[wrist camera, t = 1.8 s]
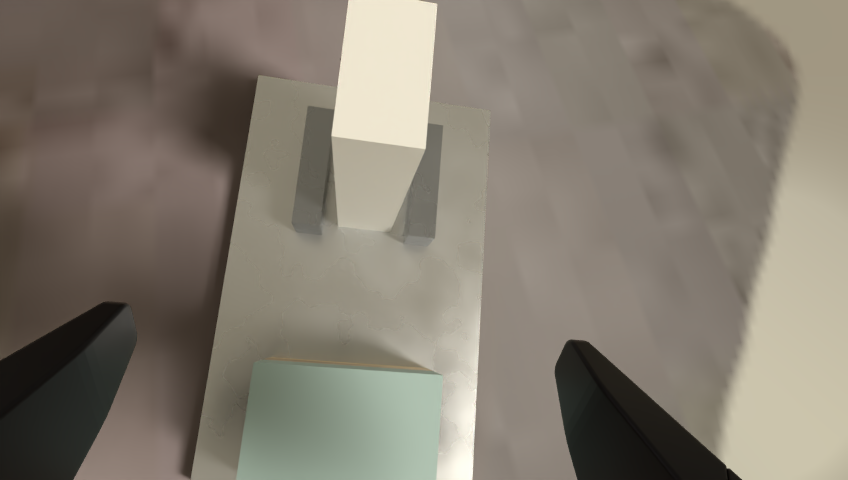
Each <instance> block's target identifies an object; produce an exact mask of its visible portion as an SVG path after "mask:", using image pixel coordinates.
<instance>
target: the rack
mask: <svg viewBox="0 0 848 480" xmlns="http://www.w3.org/2000/svg"><path fill="white" fill-rule="evenodd" d="M337 88H338V87H334V86H327V85H320V84H314V83H307V82H301V81H294V80H288V79H281V78H275V77H268V76H262V75H258V81H257V87H256V93H255V99H254V105H253V111H252V117H251V123H250V129H249V135H248V141H247V147H246V153H245V159H244V165H243V171H242V176H241V182H240V188H239V194H238V200H237V206H236V212H235V218H234V224H233V230H232V236H231V242H230V248H229V254H228V260H227V266H226V272H225V278H224V284H223V290H222V296H221V302H220V308H219V313H218V319H217V325H216V331H215V337H214V343H213V349H212V355H211V361H210V367H209V373H208V379H207V385H206V391H205V397H204V403H203V409H202V415H201V421H200V427H199V433H198V439H197V445H196V450H195V456H194V462H193V468H192V474H191V480H236V477H237V470H238V463H239V457H240V450H241V443H242V437H243V430H244V423H245V416H246V410H247V403H248V396H249V389H250V383H251V376H252V369H253V363H254V362H257V361H260V360H263V359H266V358H270V357H276V358H291V359H305V360H320V361H334V362H349V363H363V364H378V365H392V366H406V367H421V368H427V369H430V370H432V371H434V372H437V373H439V374H442V375H443V384H442V399H441V415H440V430H439V445H438V461H437V476H436V480H472V473H473V453H474V433H475V413H476V392H477V372H478V352H479V332H480V312H481V292H482V272H483V252H484V231H485V211H486V191H487V171H488V151H489V131H490V110H484V109H477V108H471V107H464V106H458V105H451V104H445V103H438V102H431V101H429V113H428V125H427V138H426V149H425V152H424V154H423V156H422V159H421V161H420V163H419V166H418V168H417V170H416V173H415V175H414V177H413V180H412V182H411V184H410V187H409V189H408V191H407V194H406V196H405V198H404V201H403V203H402V205H401V208H400V210H399V212H398V215H397V217H396V219H395V222H394V224H393V226H392V229H391V231H390V232H383V231H374V230H365V229H356V228H347V227H338V218H337V205H336V191H335V178H334V164H333V151H332V137H331V135H332V128H333V120H334V112H335V104H336V96H337Z"/></svg>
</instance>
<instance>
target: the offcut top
mask: <svg viewBox="0 0 848 480" xmlns="http://www.w3.org/2000/svg"><path fill="white" fill-rule="evenodd" d="M442 384H443V375H442V374H439V373H437V372H434V371H424V370H410V369H395V368H380V367H366V366H351V365H336V364H322V363H307V362H292V361H278V360H260V361H257V362H254V363H253V369H252V376H251V383H250V389H249V396H248V403H247V410H246V416H245V423H244V430H243V437H242V443H241V450H240V457H239V463H238V470H237V477H236V480H436V476H437V461H438V445H439V430H440V415H441V399H442Z"/></svg>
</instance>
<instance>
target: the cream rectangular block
mask: <svg viewBox="0 0 848 480" xmlns="http://www.w3.org/2000/svg"><path fill="white" fill-rule="evenodd" d="M436 14H437V4H435V3H429V2H424V1H418V0H349V2H348V10H347V17H346V25H345V33H344V41H343V49H342V57H341V65H340V73H339V80H338V88H337V96H336V104H335V112H334V120H333V128H332V135H331V137H332V151H333V164H334V178H335V191H336V205H337V218H338V227H347V228H356V229H365V230H374V231H383V232H390V231H391V229H392V226H393V224H394V222H395V219H396V217H397V215H398V212H399V210H400V208H401V205H402V203H403V201H404V198H405V196H406V194H407V191H408V189H409V187H410V184H411V182H412V180H413V177H414V175H415V173H416V170H417V168H418V166H419V163H420V161H421V159H422V156H423V154H424V152H425V149H426V138H427V125H428V113H429V101H430V88H431V76H432V63H433V51H434V38H435V26H436Z"/></svg>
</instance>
